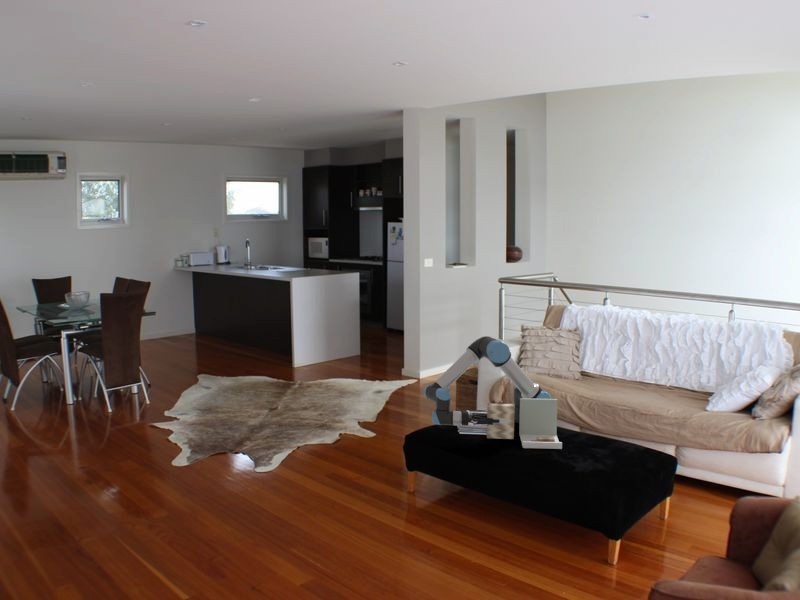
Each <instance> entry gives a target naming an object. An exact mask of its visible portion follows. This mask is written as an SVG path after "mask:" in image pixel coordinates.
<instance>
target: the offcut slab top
mask: <svg viewBox="0 0 800 600" xmlns="http://www.w3.org/2000/svg"><path fill="white" fill-rule="evenodd" d="M536 441H537V442H555V439H554V437H537V440H536Z"/></svg>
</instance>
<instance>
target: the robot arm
mask: <svg viewBox="0 0 800 600" xmlns="http://www.w3.org/2000/svg"><path fill="white" fill-rule="evenodd" d="M483 358H485V359H487V360H488V361H489V362H490V363H491V364H492V365H493V366H494V367H495V368H499V369H500V370H501V371H502V372H503V374H504V375H506V376H507V378H508V379H509V381H511V382H512V384H513V404H514V406H515V412H514V424H515V423H516V424H519V425H520V398H531V399H552V396H551V394H550V393H549V392H547V391H545V390H543V388H542V387H541V386H540V385H539V384H538V383H536V382H534V381H532V380H531V379H530V377H529V376H528V375H527V374H526V373H525V371H524V370H523V369H522V368H521V367H520V366H519V364H517V362H516V361H515V360H514V359H513V358H512V352H511V351H510V347H509V345H508V344H507V343H505V342H504V341H503V340H500V339H496V338H494V337H491V336H489V335H486V336H481V337H479V338H477V339H476V340H474V341H473V342H472V343H471V344H470V345H468V346H467V348H466V350H465V351H464V353H463V354H462V355H461V356H460V357H459V358H458V359H457V360H456V361H455V362H454V363H453V364H452V365H450V366H449V368H447V370H445V371H444V372H443V374H441V376H439V377H438V378H437V379H436V380H435V381H434V382H433V383H432V384H427V385H426V386H424V388H423V392H422V393H423V395H424V397H425V398H426V399H427V400H429V401H432V402H433V403H434V404H435V410H432V414H431V418H432V419H431V423H432V424H433V425H439V426H454V427H455V426H469V423H471V424H473V425H474V426H475V425H480V426H481V425H484V426H485V425H486V426H487V425H493V423H502V424H506V418H493V419H492V418H487V413H485V412H483V413H481V412H479V413H478V412H472V413H471V414H470V413H469V411H468V410H465V411H464V410H463V411H461V410H451V391H450V389H449V388H450V387H451V386H452V385H453V384H454V383H455V382H456V381H457V380H458V379H459V378H460V377H461V376H462V375H463V374H464V373H465V372H466V371H467V370H468V369H469V368H470V367H472V365H473V364H475V362H479V361H481V360H482V359H483Z"/></svg>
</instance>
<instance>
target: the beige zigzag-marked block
mask: <svg viewBox="0 0 800 600" xmlns="http://www.w3.org/2000/svg"><path fill="white" fill-rule="evenodd" d="M486 409H487V413H486V414H487V418H492V419H493V418H506V424H502V423H493V425H486V438H487V439H498V440H499V439H501V440H502V439H503V440H514V437H515V422H514V412H515V406H514V403H493V402H492V403H490V402H489V403H487V408H486Z"/></svg>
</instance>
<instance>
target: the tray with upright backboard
mask: <svg viewBox="0 0 800 600" xmlns="http://www.w3.org/2000/svg"><path fill="white" fill-rule="evenodd" d="M558 401H559V400H558V398H551V399H531V398H520V424H519V426H518V427H519V428H518V429H519V431H518V432H519V437H520V441H521V446H522V448H523V449H546V450H547V449H549V450H551V449H553V450H554V449H555V450H562V449H563V442H562V441H559V438H558V434H557V430H558V429H557V428H558V405H559V404H558ZM537 437H554V439H555V442H536V440H537ZM532 440H535V441H532Z"/></svg>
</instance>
